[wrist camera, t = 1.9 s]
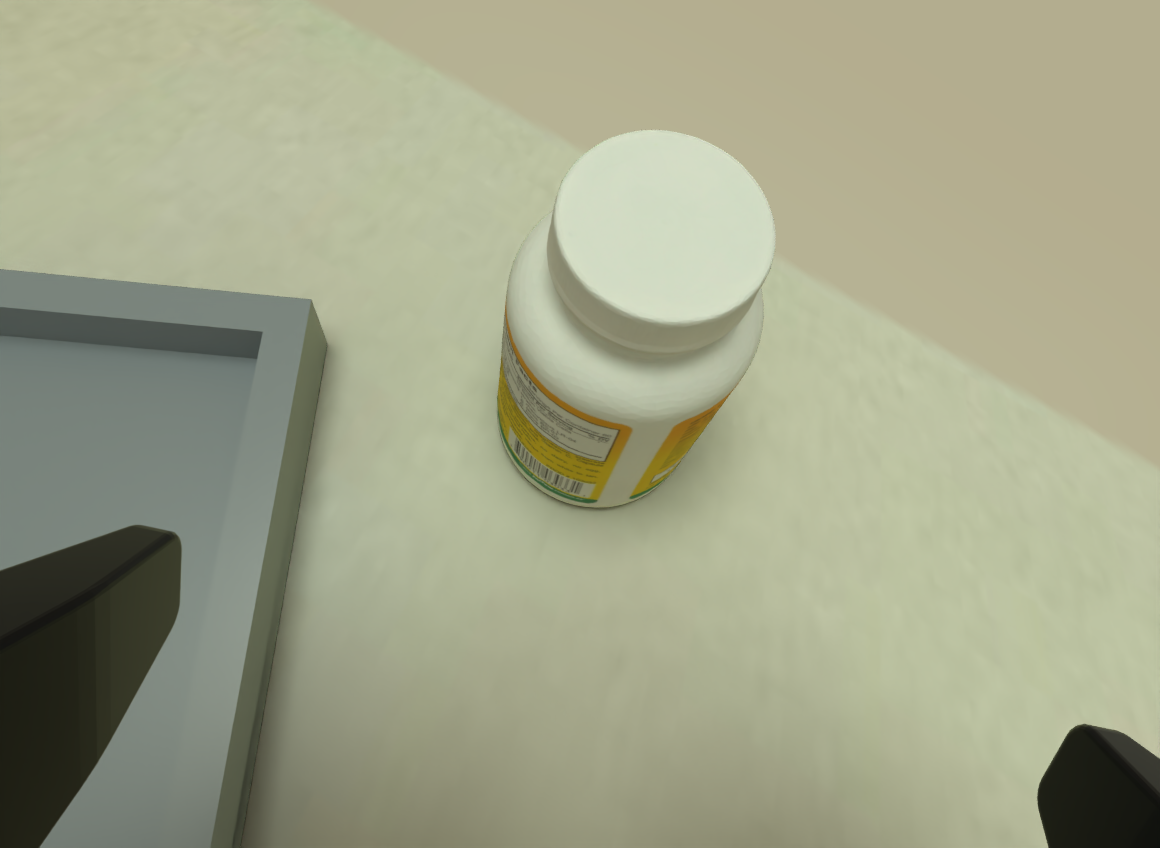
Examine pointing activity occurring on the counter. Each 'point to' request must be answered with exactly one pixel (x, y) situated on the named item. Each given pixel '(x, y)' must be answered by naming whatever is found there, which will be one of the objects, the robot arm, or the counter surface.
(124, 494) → the tray
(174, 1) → the counter surface
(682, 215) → the supplement bottle
